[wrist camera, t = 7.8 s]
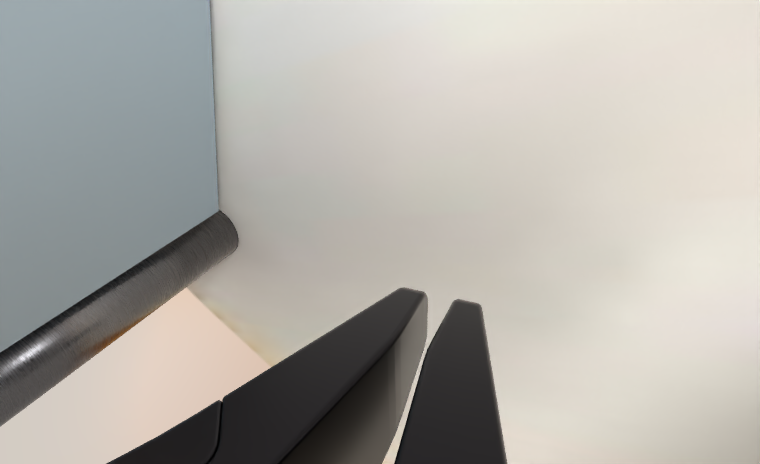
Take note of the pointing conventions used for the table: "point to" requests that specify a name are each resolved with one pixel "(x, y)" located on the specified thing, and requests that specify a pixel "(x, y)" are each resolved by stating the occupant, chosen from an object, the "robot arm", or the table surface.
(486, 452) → the robot arm
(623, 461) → the table surface
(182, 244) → the posts
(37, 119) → the panel
